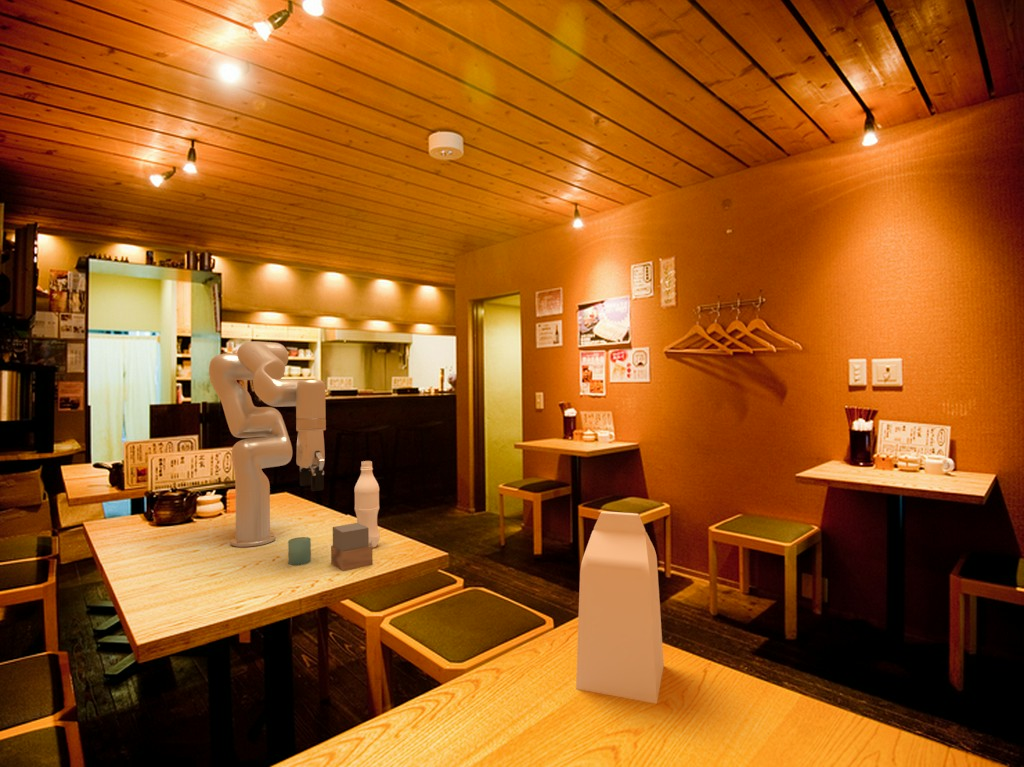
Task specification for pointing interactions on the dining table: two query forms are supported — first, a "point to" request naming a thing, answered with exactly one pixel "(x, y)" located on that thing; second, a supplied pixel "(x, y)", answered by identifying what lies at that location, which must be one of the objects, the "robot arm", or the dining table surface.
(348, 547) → the tower mid
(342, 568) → the tower base
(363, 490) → the water bottle
